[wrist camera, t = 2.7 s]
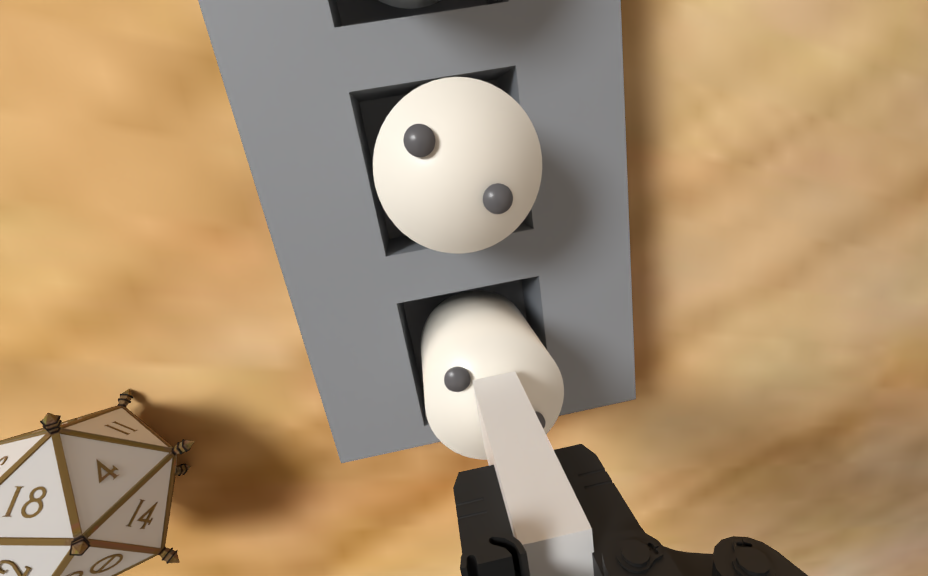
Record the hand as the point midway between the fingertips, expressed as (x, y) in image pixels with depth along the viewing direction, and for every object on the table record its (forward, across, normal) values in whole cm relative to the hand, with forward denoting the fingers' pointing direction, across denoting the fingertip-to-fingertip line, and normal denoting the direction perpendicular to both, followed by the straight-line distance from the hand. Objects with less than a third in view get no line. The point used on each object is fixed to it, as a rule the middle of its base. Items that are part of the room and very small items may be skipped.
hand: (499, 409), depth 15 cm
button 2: (+5, 0, +8) cm, 10 cm away
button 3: (+5, 0, 0) cm, 5 cm away
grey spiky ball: (+8, -18, -3) cm, 20 cm away
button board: (+8, 0, +8) cm, 12 cm away
